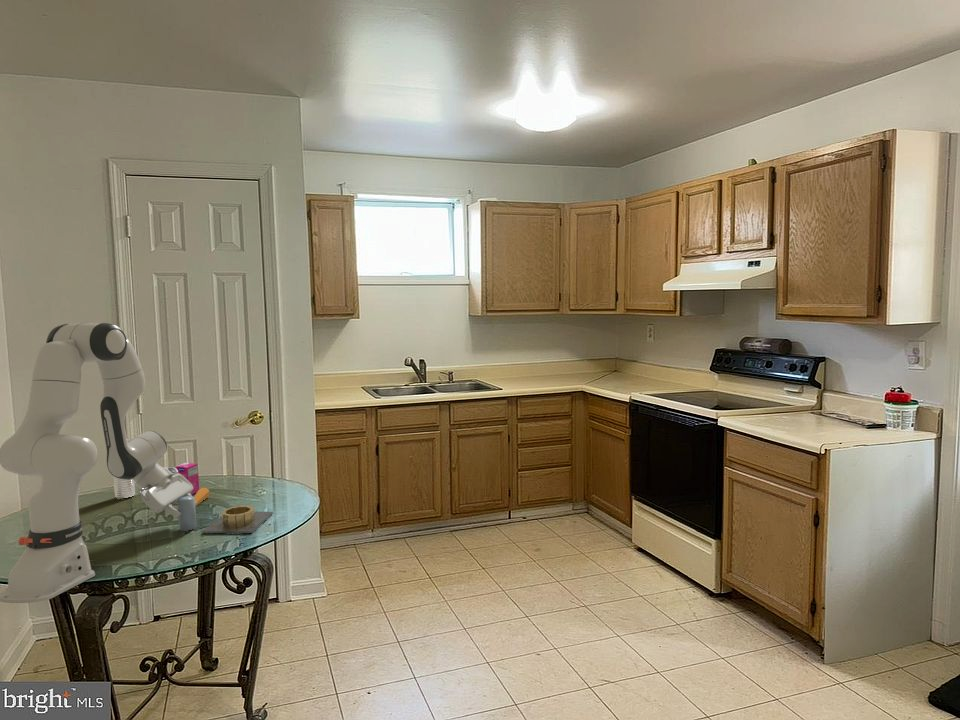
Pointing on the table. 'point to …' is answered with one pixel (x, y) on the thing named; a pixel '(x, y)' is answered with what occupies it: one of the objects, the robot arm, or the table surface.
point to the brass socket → (238, 516)
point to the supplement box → (190, 474)
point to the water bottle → (124, 487)
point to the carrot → (201, 495)
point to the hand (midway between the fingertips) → (187, 510)
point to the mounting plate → (248, 528)
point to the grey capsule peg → (187, 513)
